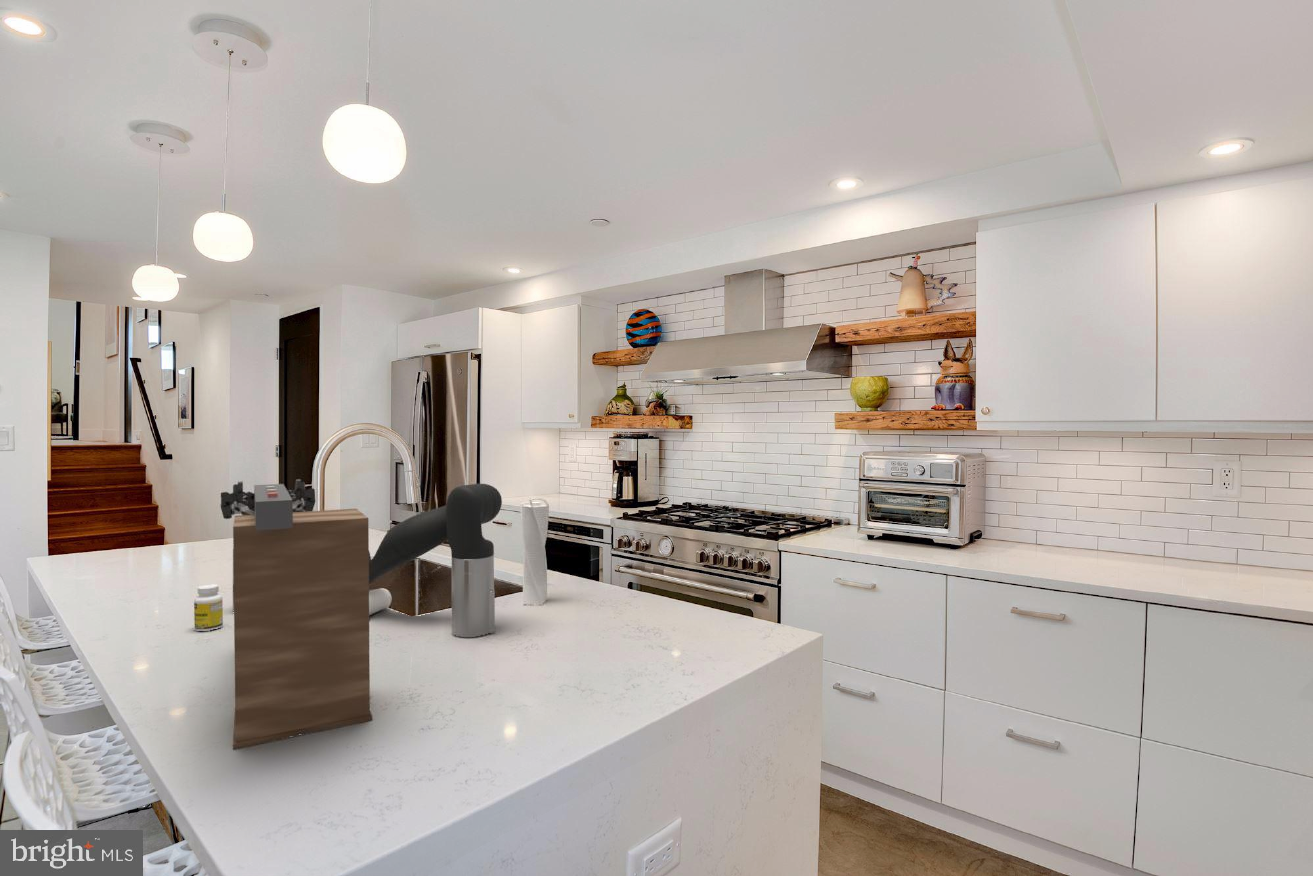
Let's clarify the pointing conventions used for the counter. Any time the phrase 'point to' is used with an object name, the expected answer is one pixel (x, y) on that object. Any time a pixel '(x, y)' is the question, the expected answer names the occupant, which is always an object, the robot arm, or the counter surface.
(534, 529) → the twisted white column
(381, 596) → the drinking glass
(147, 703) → the counter surface
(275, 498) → the power strip
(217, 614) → the supplement bottle
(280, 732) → the brown tall block
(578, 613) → the counter surface
